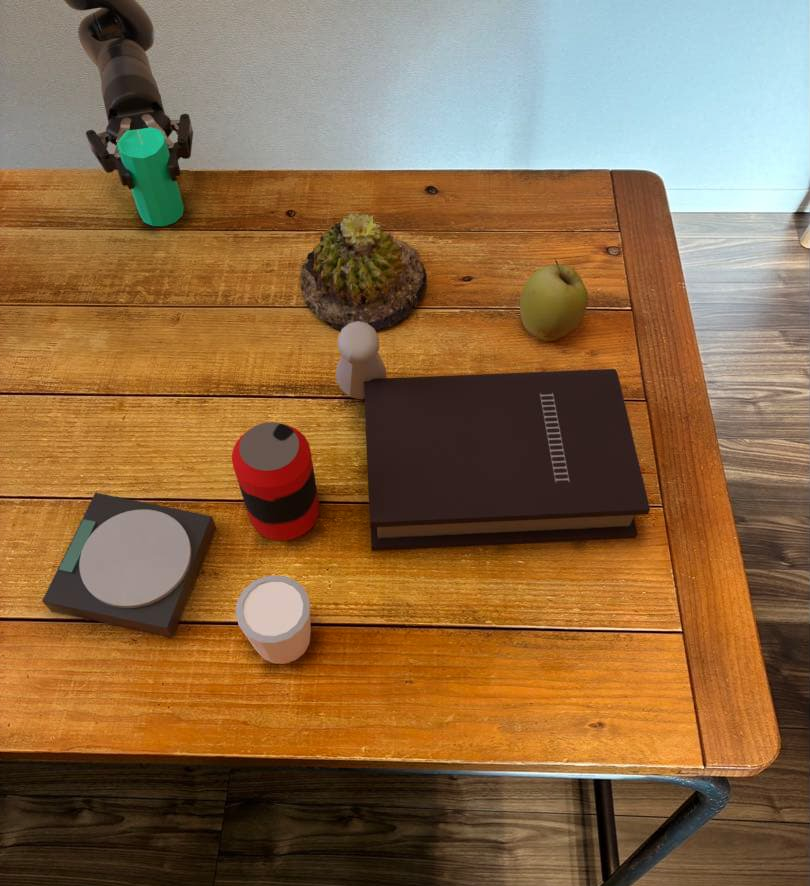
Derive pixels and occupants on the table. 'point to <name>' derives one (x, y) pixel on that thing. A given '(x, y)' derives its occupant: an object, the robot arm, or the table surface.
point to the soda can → (277, 480)
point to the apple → (553, 302)
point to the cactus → (362, 275)
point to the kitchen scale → (131, 564)
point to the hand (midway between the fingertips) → (151, 178)
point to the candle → (151, 176)
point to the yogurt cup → (275, 618)
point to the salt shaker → (358, 358)
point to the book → (500, 460)
